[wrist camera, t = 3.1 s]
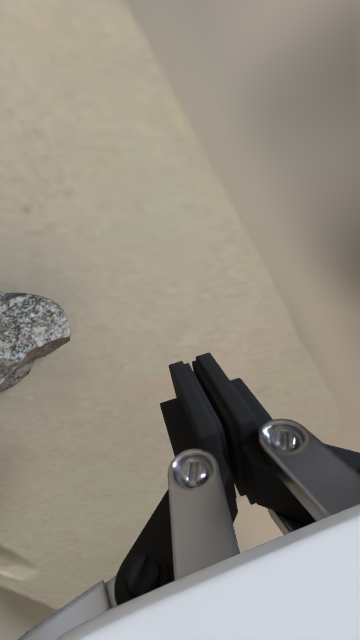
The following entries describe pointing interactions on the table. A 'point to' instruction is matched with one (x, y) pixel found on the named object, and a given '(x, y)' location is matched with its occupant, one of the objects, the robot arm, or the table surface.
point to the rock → (28, 333)
